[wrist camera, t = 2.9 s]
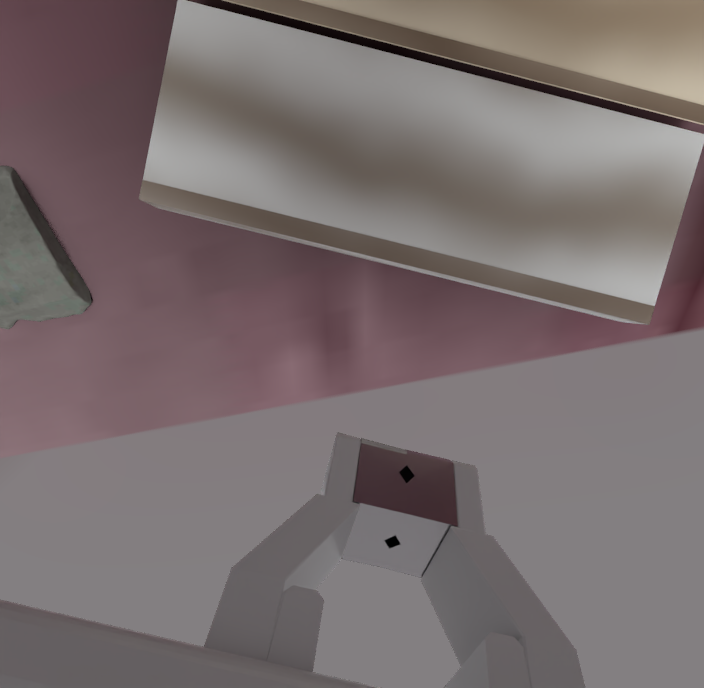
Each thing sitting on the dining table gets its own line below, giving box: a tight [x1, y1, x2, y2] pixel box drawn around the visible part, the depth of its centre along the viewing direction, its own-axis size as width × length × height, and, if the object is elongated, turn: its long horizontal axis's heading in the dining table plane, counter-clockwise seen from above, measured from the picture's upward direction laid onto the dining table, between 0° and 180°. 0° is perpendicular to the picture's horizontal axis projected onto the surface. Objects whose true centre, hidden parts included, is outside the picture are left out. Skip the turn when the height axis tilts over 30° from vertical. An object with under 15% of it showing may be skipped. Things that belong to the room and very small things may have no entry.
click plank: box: [139, 0, 704, 325], centre depth 21 cm, size 8×22×2 cm, turn 78°
